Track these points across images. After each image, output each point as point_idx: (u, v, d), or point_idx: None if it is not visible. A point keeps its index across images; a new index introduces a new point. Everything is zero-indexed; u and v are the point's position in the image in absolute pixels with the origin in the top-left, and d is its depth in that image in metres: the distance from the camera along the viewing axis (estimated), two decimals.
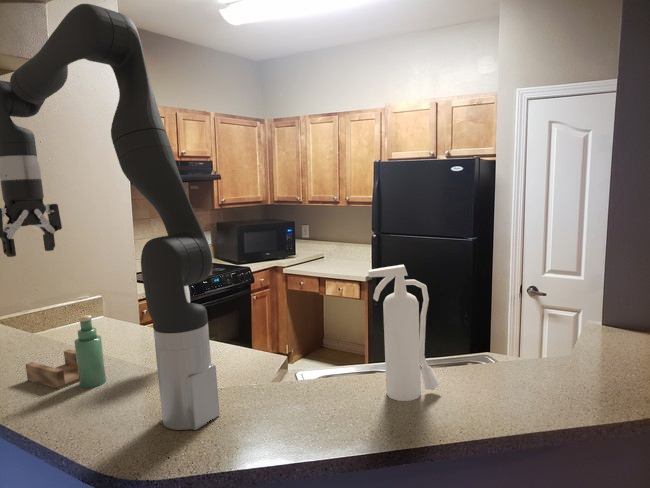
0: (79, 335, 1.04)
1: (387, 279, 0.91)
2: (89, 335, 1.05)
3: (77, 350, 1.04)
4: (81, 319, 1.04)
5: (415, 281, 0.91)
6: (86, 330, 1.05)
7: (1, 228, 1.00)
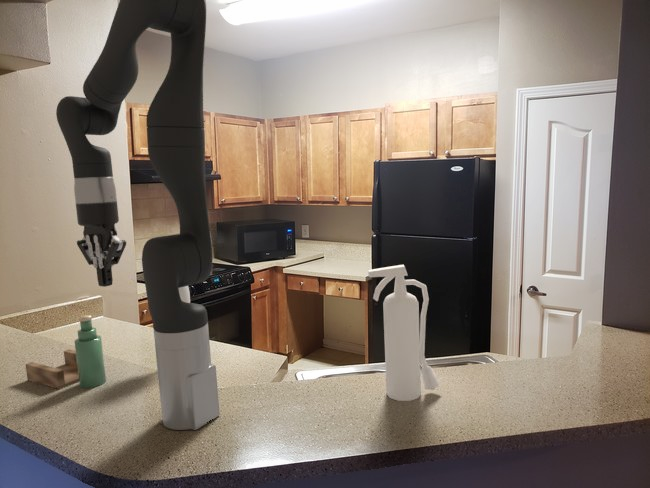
0: (79, 335, 1.04)
1: (387, 279, 0.91)
2: (89, 335, 1.05)
3: (77, 350, 1.04)
4: (81, 319, 1.04)
5: (415, 281, 0.91)
6: (86, 330, 1.05)
7: None
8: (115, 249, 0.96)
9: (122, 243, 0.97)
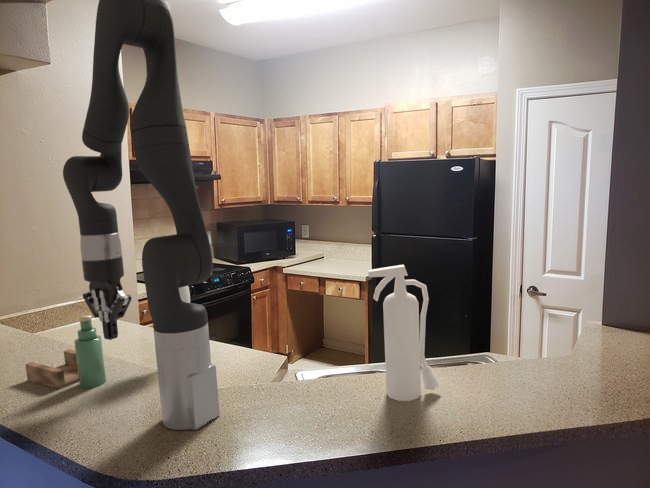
0: (79, 335, 1.04)
1: (387, 279, 0.91)
2: (89, 335, 1.05)
3: (77, 350, 1.04)
4: (81, 319, 1.04)
5: (415, 281, 0.91)
6: (86, 330, 1.05)
7: None
8: (121, 305, 0.97)
9: (128, 298, 0.98)
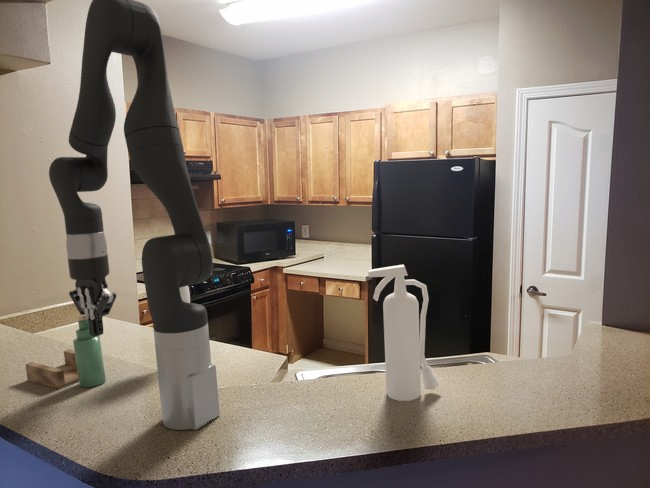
0: (77, 334, 1.05)
1: (387, 279, 0.91)
2: (87, 334, 1.05)
3: (76, 349, 1.04)
4: (79, 318, 1.05)
5: (415, 281, 0.91)
6: (84, 329, 1.05)
7: None
8: (105, 302, 1.00)
9: (112, 296, 1.01)
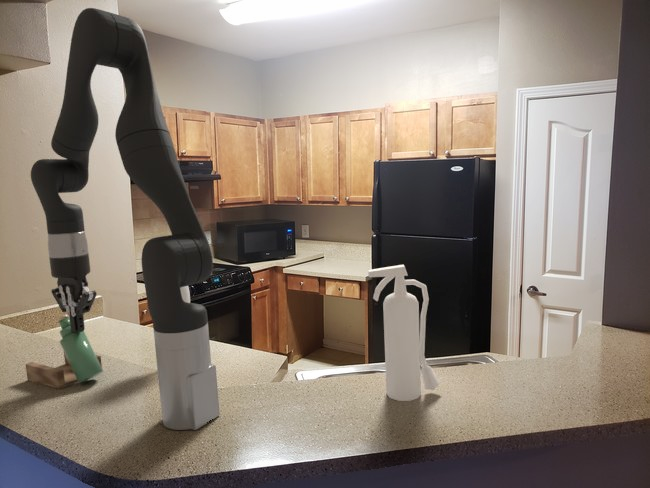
0: (61, 333, 1.08)
1: (387, 279, 0.91)
2: (70, 329, 1.08)
3: (63, 347, 1.07)
4: (58, 318, 1.09)
5: (415, 281, 0.91)
6: (66, 327, 1.08)
7: None
8: (86, 300, 1.03)
9: (93, 294, 1.04)
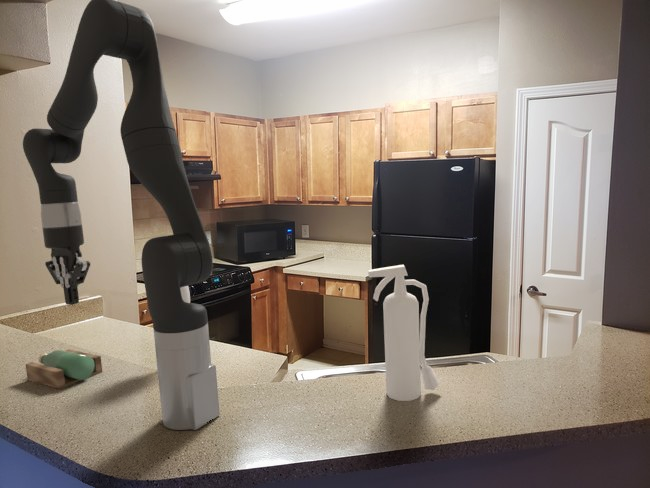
0: None
1: (387, 279, 0.91)
2: (49, 355, 1.13)
3: None
4: (39, 359, 1.14)
5: (415, 281, 0.91)
6: (47, 357, 1.13)
7: None
8: (79, 270, 1.03)
9: (86, 264, 1.04)
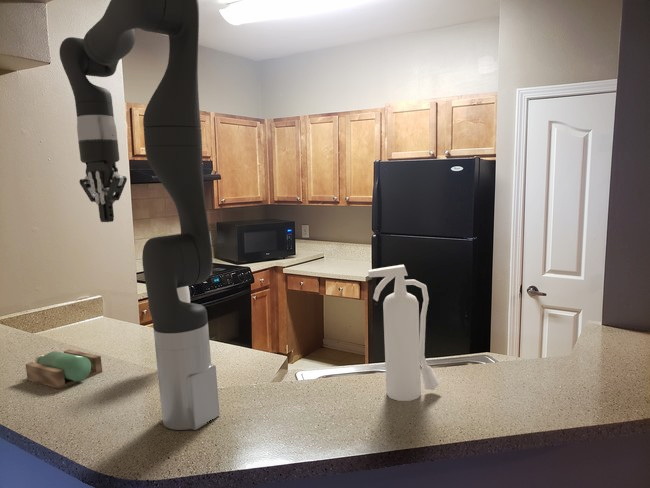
0: None
1: (387, 279, 0.91)
2: (43, 358, 1.12)
3: None
4: (35, 362, 1.14)
5: (415, 281, 0.91)
6: (42, 360, 1.13)
7: None
8: (116, 184, 1.01)
9: (123, 178, 1.02)
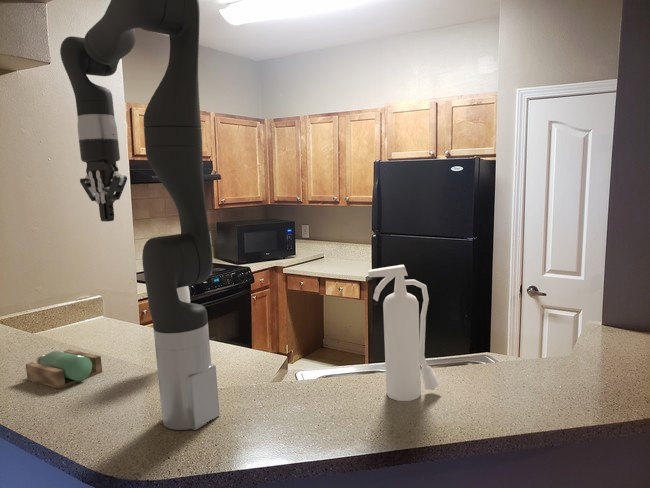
0: None
1: (387, 279, 0.91)
2: (45, 357, 1.12)
3: None
4: (36, 361, 1.14)
5: (415, 281, 0.91)
6: (44, 359, 1.13)
7: None
8: (116, 183, 1.01)
9: (123, 178, 1.01)
